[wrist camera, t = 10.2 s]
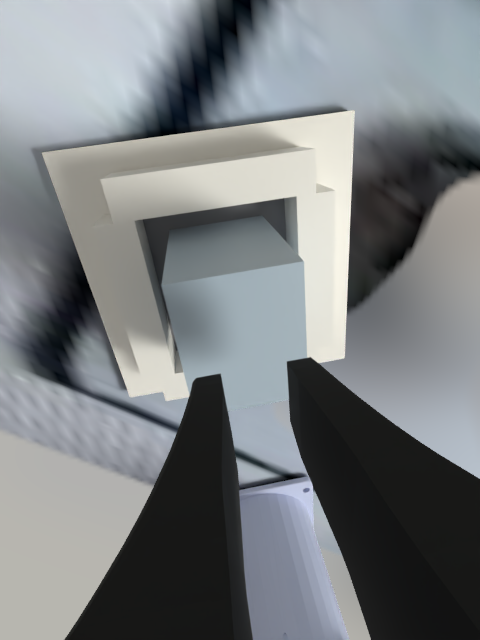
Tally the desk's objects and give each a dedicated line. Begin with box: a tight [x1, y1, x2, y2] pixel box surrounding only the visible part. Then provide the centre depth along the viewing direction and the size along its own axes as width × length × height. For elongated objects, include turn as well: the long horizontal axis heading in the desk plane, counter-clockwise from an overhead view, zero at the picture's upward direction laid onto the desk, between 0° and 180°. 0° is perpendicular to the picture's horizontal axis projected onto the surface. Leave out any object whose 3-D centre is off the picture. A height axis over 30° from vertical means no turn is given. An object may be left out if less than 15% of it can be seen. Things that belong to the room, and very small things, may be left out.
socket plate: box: [42, 110, 355, 401], centre depth 15 cm, size 12×12×2 cm
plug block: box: [161, 216, 307, 412], centre depth 13 cm, size 5×4×6 cm
